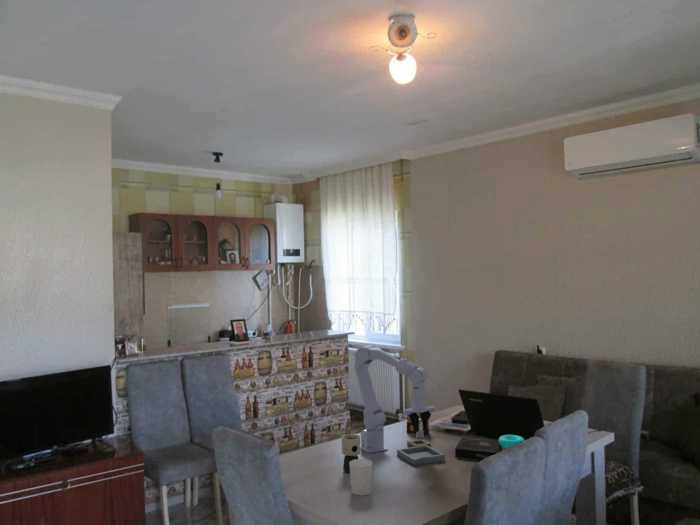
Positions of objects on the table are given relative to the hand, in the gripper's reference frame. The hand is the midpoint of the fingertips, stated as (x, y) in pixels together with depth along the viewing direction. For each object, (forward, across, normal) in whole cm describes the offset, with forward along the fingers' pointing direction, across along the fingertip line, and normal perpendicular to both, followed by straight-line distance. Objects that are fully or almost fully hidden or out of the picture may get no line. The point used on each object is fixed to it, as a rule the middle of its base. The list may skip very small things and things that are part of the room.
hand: (419, 430), depth 226 cm
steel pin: (+3, 0, 0) cm, 3 cm away
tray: (+10, -1, -2) cm, 11 cm away
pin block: (+10, +6, +11) cm, 16 cm away
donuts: (+11, +28, -23) cm, 38 cm away
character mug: (+11, -32, -3) cm, 34 cm away
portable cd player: (+11, +24, -7) cm, 27 cm away
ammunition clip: (+11, +16, +29) cm, 35 cm away
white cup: (+11, -37, -22) cm, 45 cm away
